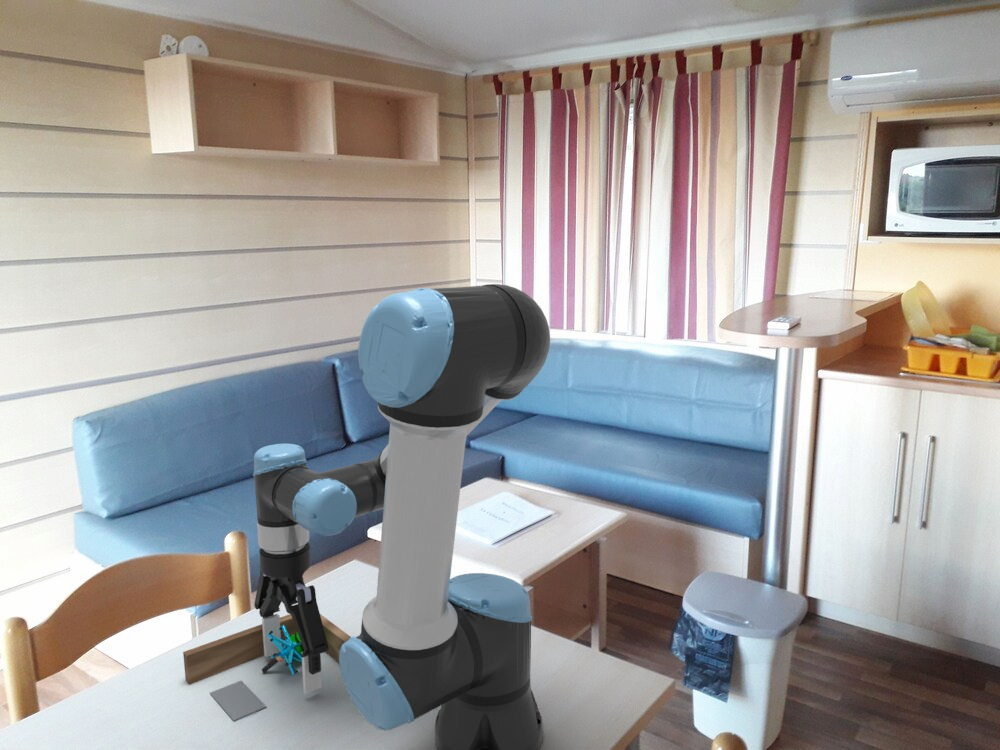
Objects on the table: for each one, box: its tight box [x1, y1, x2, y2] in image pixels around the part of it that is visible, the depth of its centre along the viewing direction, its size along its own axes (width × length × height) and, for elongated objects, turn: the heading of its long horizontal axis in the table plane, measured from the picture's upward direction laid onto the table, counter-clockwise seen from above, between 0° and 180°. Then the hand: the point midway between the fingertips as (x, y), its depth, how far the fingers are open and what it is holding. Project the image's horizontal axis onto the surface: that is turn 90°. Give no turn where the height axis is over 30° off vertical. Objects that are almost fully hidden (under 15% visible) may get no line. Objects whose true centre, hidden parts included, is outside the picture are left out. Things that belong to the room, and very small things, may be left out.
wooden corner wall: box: [182, 613, 352, 686], centre depth 124 cm, size 16×22×5 cm
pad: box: [209, 680, 267, 722], centre depth 118 cm, size 9×5×1 cm, turn 41°
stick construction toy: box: [261, 625, 305, 676], centre depth 126 cm, size 12×7×8 cm
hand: (292, 671), depth 123 cm, fingers open, 13 cm apart
